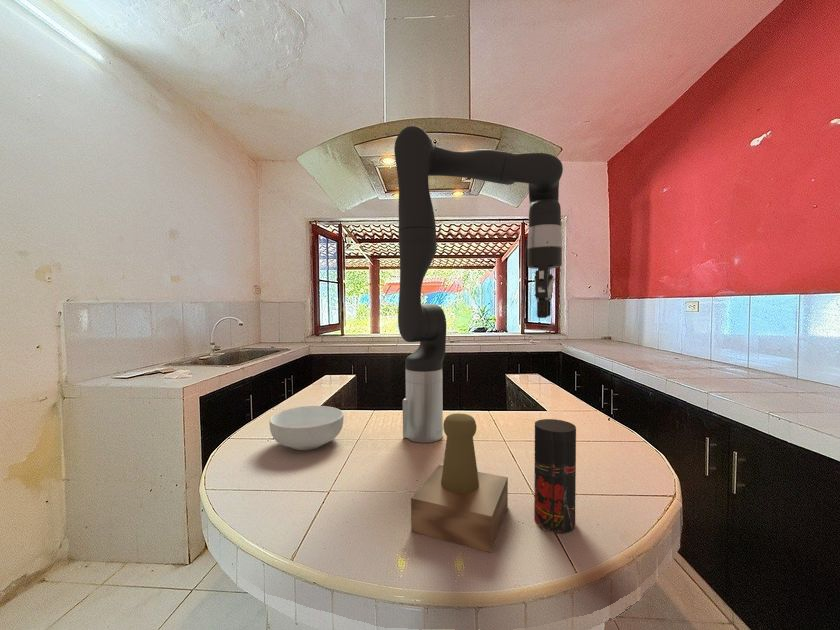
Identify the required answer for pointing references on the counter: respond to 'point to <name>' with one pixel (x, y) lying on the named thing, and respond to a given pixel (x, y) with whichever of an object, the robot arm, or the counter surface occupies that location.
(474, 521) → the walnut block
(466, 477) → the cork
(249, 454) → the counter surface
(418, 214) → the robot arm
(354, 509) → the counter surface
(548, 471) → the deodorant
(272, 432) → the cereal bowl
